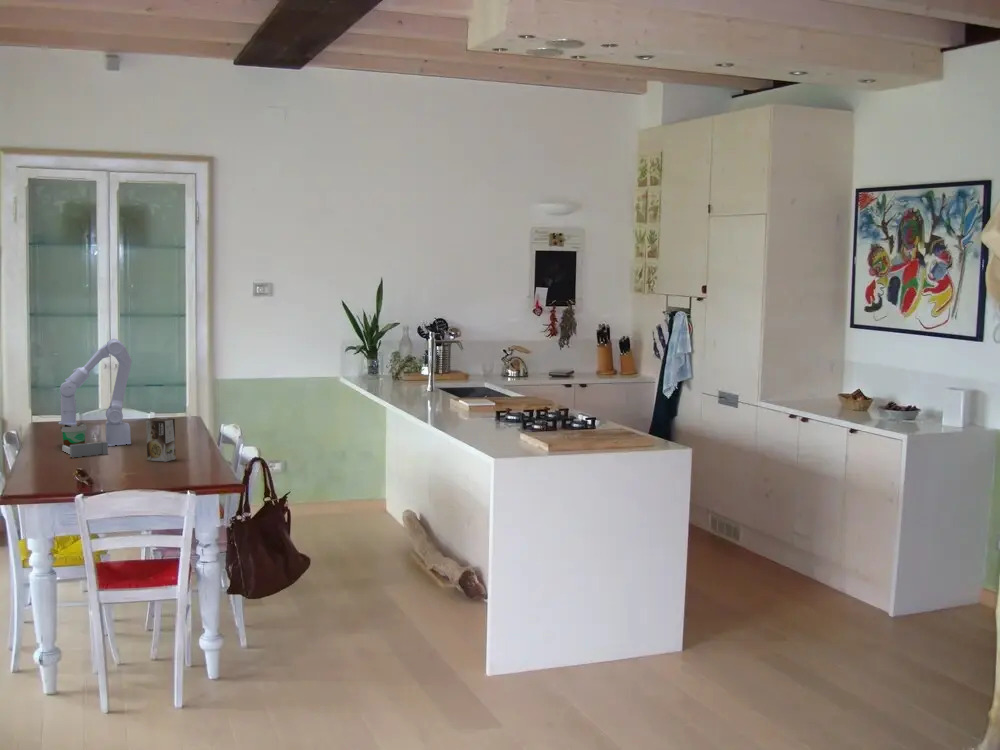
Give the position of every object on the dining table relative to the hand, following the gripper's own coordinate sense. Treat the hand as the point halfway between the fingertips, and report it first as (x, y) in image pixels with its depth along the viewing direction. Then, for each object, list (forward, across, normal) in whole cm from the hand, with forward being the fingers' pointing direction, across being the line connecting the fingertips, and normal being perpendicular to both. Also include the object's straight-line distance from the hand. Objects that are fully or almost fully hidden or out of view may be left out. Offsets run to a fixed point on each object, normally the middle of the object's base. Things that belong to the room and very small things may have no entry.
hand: (69, 443), depth 429 cm
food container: (+2, +7, +1) cm, 7 cm away
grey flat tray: (+1, +17, 0) cm, 17 cm away
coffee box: (+2, +48, +20) cm, 52 cm away
